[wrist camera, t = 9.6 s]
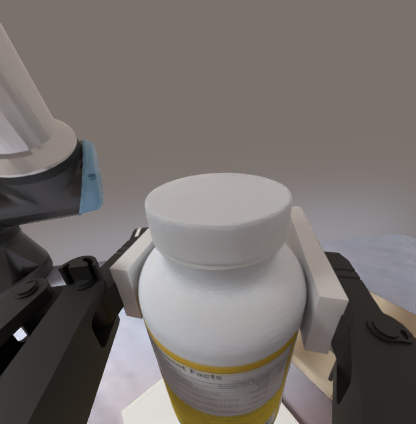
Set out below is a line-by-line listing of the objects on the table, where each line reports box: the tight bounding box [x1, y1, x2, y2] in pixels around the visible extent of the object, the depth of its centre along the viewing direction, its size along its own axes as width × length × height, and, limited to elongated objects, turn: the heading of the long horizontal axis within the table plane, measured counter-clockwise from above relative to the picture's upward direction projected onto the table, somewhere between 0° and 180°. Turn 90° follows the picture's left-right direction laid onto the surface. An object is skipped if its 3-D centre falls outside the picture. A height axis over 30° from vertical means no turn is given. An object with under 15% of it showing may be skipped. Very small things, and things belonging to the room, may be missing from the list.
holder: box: [291, 291, 416, 401], centre depth 24 cm, size 16×14×2 cm
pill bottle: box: [139, 173, 307, 424], centre depth 9 cm, size 6×6×12 cm
